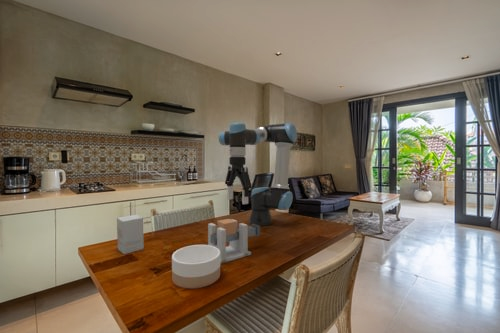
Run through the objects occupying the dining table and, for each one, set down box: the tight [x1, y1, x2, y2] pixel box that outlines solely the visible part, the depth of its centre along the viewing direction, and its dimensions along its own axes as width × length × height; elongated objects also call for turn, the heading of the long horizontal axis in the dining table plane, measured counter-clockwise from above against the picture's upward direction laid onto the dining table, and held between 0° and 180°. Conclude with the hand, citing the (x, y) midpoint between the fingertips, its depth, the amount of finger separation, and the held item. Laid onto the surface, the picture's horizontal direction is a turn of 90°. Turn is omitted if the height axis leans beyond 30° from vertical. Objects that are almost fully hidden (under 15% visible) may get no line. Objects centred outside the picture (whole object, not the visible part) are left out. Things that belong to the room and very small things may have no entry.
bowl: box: [171, 244, 221, 289], centre depth 86 cm, size 17×17×8 cm
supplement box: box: [116, 214, 145, 255], centre depth 110 cm, size 9×9×15 cm
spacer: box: [216, 218, 237, 235], centre depth 104 cm, size 6×6×5 cm
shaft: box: [210, 224, 261, 245], centre depth 107 cm, size 24×5×5 cm, turn 126°
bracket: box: [207, 218, 252, 265], centre depth 104 cm, size 17×12×14 cm
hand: (237, 201), depth 112 cm, fingers open, 13 cm apart
